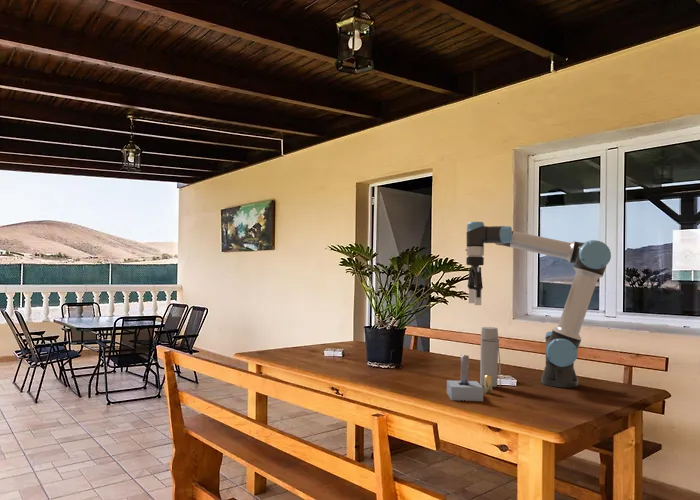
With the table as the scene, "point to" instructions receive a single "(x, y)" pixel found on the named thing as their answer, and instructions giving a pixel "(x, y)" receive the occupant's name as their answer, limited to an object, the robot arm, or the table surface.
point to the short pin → (488, 384)
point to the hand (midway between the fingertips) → (474, 304)
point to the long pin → (464, 369)
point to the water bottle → (489, 355)
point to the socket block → (464, 391)
